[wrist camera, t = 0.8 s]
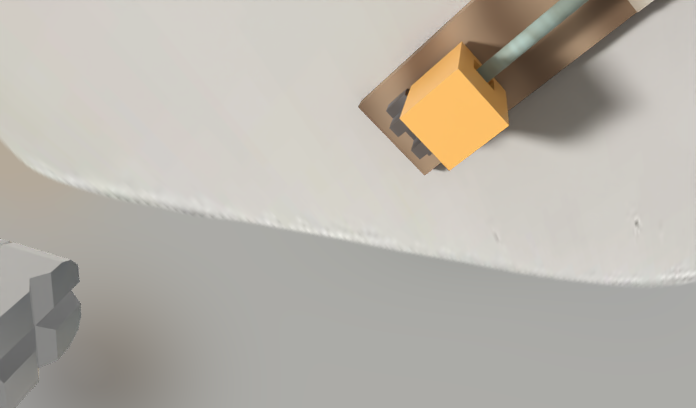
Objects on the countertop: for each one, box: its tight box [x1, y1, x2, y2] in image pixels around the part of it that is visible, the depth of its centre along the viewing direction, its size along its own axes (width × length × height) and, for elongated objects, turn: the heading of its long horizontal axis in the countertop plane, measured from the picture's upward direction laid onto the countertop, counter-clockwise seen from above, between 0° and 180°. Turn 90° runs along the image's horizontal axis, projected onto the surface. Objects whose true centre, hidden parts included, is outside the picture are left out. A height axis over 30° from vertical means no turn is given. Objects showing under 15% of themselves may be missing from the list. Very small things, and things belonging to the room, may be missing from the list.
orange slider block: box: [399, 42, 509, 171], centre depth 40 cm, size 5×5×7 cm
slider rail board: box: [358, 0, 654, 175], centre depth 39 cm, size 26×8×7 cm, turn 135°
